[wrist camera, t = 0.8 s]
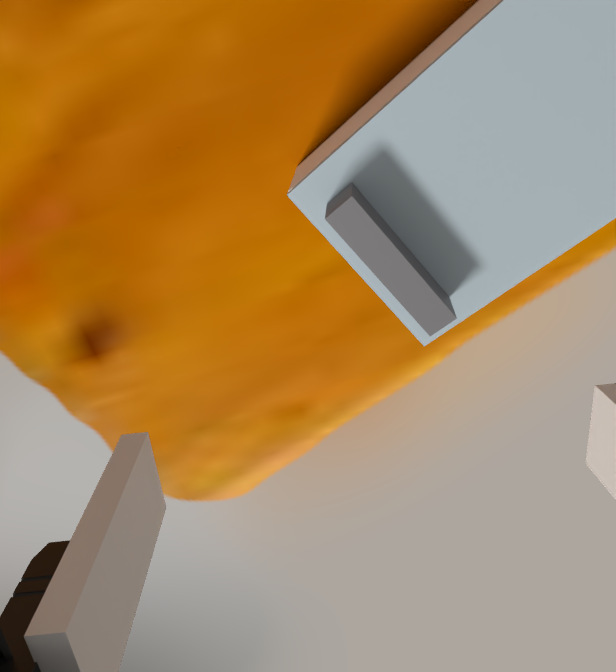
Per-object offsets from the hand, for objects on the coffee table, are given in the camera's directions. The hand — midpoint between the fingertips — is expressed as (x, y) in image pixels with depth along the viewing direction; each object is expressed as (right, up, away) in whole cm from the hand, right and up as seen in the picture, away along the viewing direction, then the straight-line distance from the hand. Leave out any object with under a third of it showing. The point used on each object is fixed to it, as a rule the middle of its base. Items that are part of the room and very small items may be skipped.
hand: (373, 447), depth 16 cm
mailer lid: (+9, +13, +17) cm, 23 cm away
